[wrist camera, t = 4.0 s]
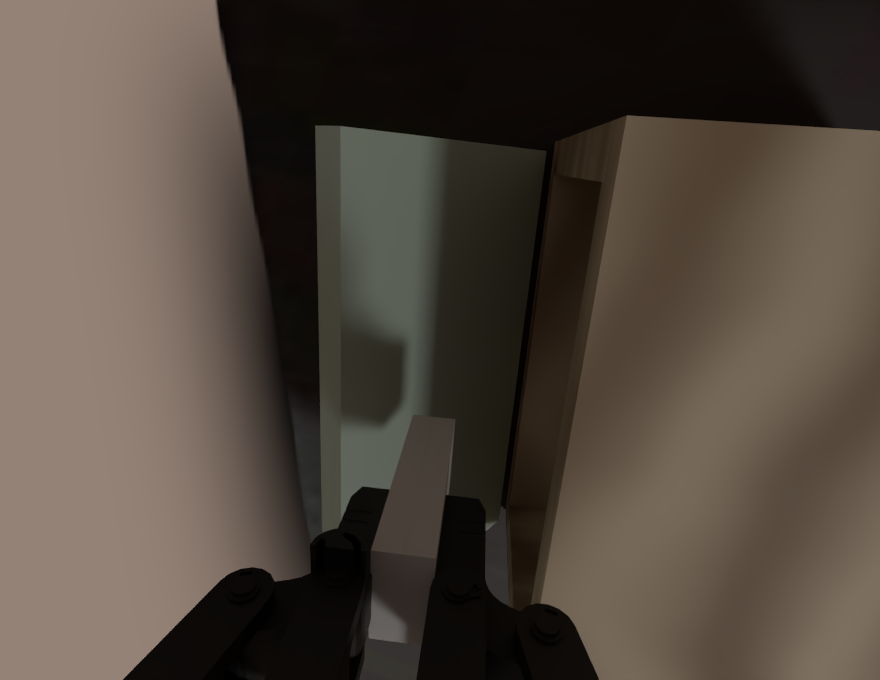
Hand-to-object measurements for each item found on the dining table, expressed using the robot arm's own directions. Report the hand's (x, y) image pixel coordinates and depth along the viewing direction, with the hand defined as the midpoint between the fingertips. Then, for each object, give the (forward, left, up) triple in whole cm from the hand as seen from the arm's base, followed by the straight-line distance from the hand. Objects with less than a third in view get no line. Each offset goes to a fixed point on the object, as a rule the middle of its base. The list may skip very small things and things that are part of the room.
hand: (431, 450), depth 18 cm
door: (-3, 0, -10) cm, 11 cm away
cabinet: (-11, 0, -11) cm, 16 cm away
